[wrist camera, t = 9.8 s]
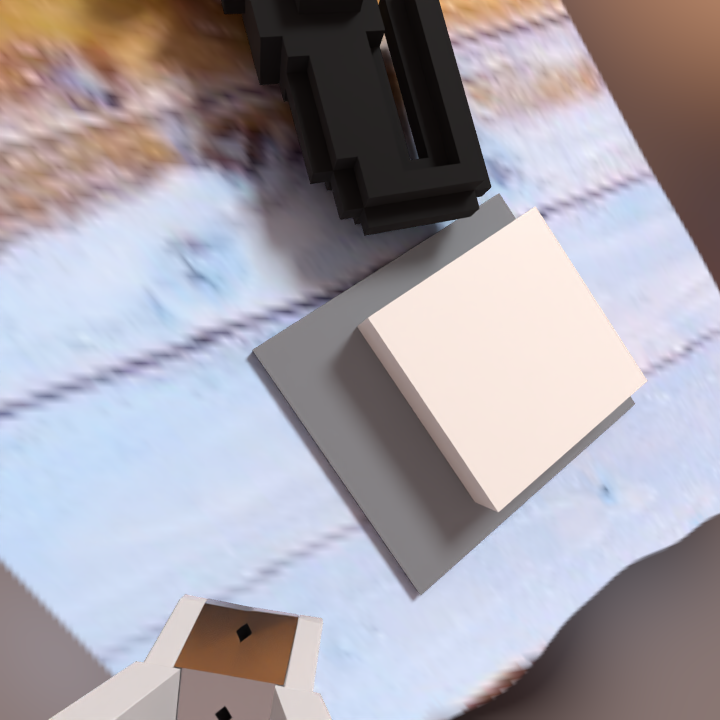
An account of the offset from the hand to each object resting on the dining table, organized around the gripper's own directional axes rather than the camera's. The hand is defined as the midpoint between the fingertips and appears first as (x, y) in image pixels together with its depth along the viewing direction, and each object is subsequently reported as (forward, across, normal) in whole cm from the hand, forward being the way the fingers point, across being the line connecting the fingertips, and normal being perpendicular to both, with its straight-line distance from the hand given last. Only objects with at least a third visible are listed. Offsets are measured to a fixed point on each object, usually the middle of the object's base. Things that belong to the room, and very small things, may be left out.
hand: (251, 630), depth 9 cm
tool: (+22, +4, -17) cm, 28 cm away
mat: (+18, -7, -2) cm, 19 cm away
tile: (+15, -5, 0) cm, 16 cm away
